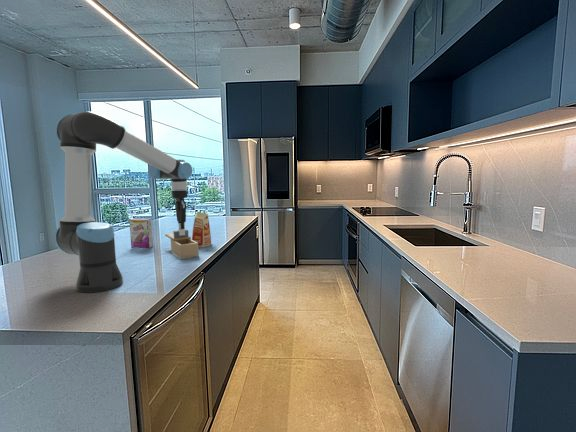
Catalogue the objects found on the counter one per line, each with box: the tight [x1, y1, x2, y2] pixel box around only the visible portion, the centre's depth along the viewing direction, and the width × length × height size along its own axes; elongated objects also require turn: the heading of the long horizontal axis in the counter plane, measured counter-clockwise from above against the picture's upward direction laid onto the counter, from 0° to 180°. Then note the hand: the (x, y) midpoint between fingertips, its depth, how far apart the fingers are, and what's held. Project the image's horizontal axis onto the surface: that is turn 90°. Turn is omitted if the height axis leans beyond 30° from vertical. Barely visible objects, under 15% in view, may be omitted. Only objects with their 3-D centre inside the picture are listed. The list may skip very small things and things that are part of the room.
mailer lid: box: [164, 229, 192, 241], centre depth 177 cm, size 9×18×5 cm, turn 34°
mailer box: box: [170, 238, 200, 260], centre depth 168 cm, size 9×18×7 cm, turn 34°
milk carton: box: [191, 211, 212, 248], centre depth 189 cm, size 9×9×20 cm
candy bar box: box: [129, 218, 154, 249], centre depth 186 cm, size 11×5×16 cm, turn 84°
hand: (182, 235), depth 170 cm, fingers closed
